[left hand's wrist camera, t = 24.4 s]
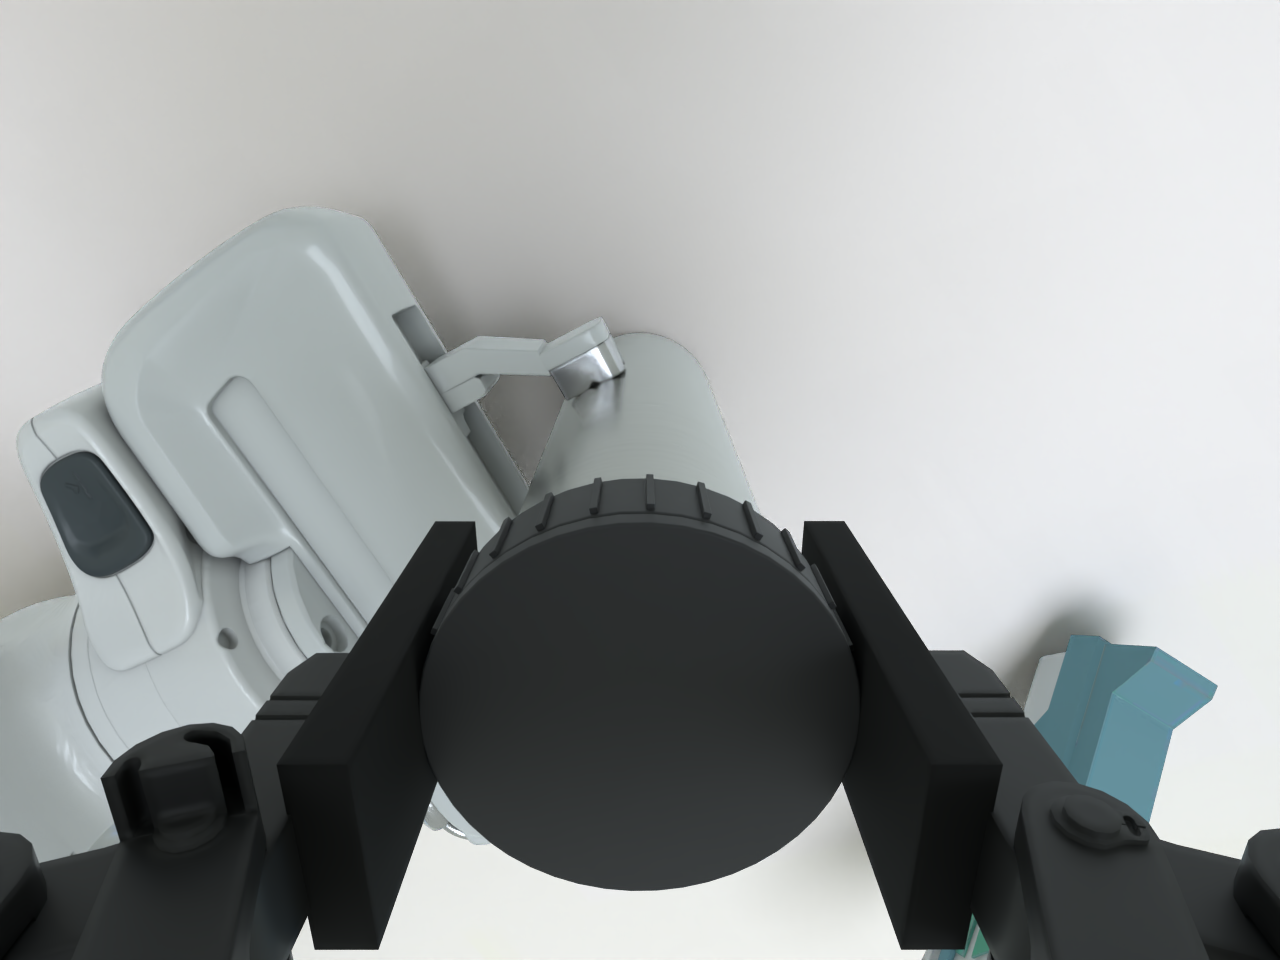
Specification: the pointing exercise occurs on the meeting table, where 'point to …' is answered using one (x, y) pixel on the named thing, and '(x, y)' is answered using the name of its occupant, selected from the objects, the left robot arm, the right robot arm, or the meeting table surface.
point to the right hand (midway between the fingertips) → (666, 443)
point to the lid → (639, 687)
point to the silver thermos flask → (643, 427)
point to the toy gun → (1106, 725)
